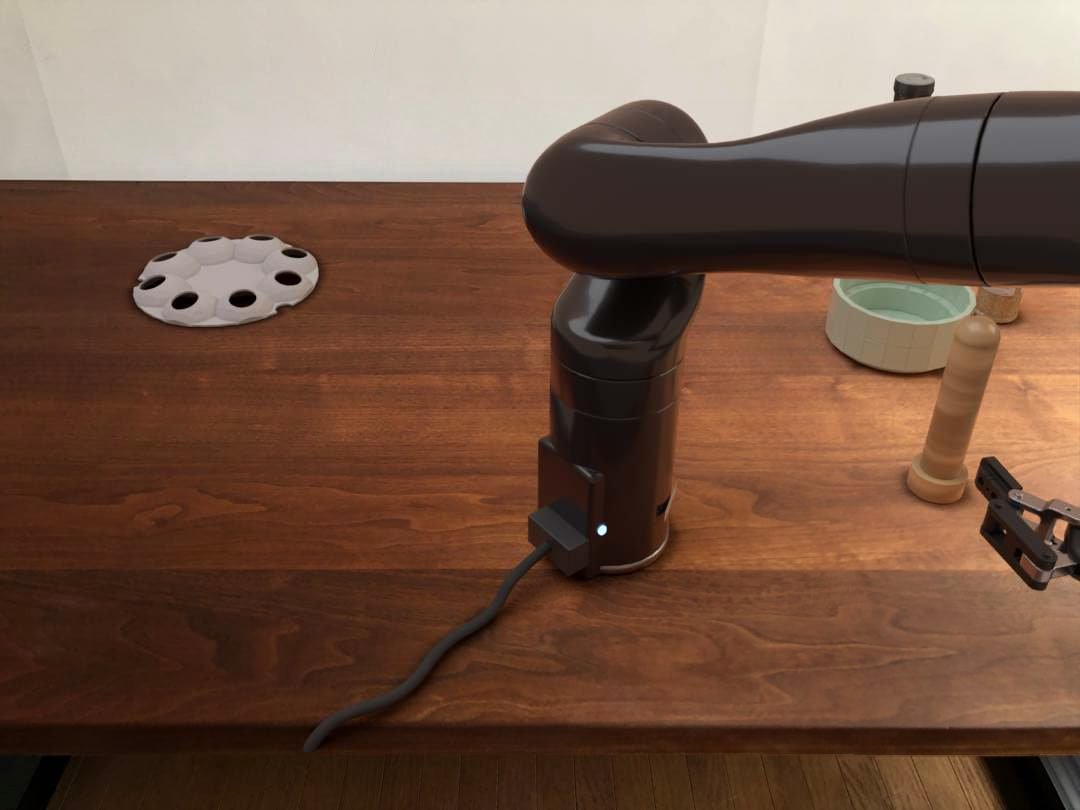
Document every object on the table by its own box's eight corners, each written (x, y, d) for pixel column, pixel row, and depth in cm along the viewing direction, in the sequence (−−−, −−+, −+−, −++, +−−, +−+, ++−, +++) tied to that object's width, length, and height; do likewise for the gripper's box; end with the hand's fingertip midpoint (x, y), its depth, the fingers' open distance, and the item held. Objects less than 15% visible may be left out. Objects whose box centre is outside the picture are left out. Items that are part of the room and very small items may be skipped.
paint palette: (259, 341, 105) (256, 323, 103) (94, 308, 110) (89, 291, 109) (350, 255, 120) (348, 239, 119) (201, 230, 125) (198, 214, 124)
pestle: (941, 511, 84) (992, 340, 75) (895, 483, 87) (938, 315, 78) (973, 489, 86) (1026, 321, 77) (927, 463, 89) (973, 297, 80)
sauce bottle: (920, 246, 122) (960, 75, 111) (904, 267, 118) (944, 92, 106) (865, 233, 125) (898, 65, 114) (847, 253, 121) (880, 81, 109)
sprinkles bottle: (1025, 317, 109) (1063, 196, 101) (997, 329, 107) (1033, 206, 99) (988, 298, 112) (1022, 180, 105) (960, 310, 110) (992, 190, 103)
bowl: (906, 394, 98) (920, 339, 94) (796, 335, 106) (805, 282, 103) (988, 348, 104) (1004, 295, 101) (878, 296, 113) (889, 245, 109)
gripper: (1341, 565, 59) (1147, 402, 72) (1117, 603, 56) (957, 427, 69) (1286, 656, 63) (1112, 487, 76) (1075, 696, 61) (932, 513, 74)
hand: (1038, 459), depth 73 cm, fingers open, 8 cm apart
